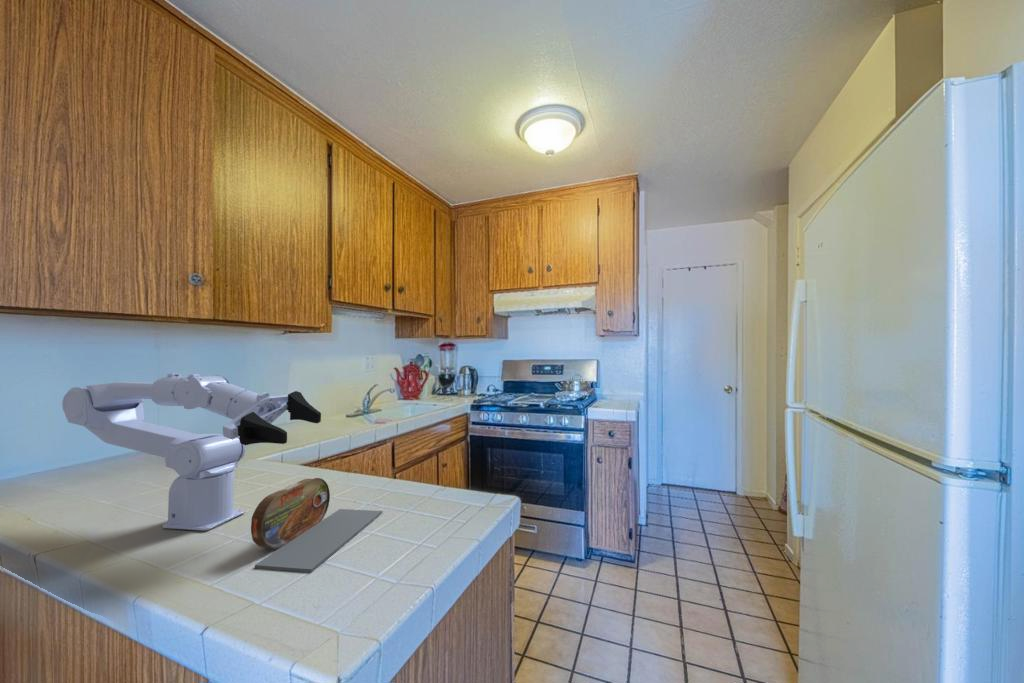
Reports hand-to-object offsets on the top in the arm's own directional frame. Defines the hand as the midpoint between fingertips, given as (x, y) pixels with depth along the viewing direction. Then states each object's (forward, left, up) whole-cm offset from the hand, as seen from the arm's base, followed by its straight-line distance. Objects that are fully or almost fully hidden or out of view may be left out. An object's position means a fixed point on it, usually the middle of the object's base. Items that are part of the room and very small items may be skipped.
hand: (303, 427), depth 66 cm
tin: (0, -2, -18) cm, 18 cm away
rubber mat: (+6, -2, -18) cm, 19 cm away
